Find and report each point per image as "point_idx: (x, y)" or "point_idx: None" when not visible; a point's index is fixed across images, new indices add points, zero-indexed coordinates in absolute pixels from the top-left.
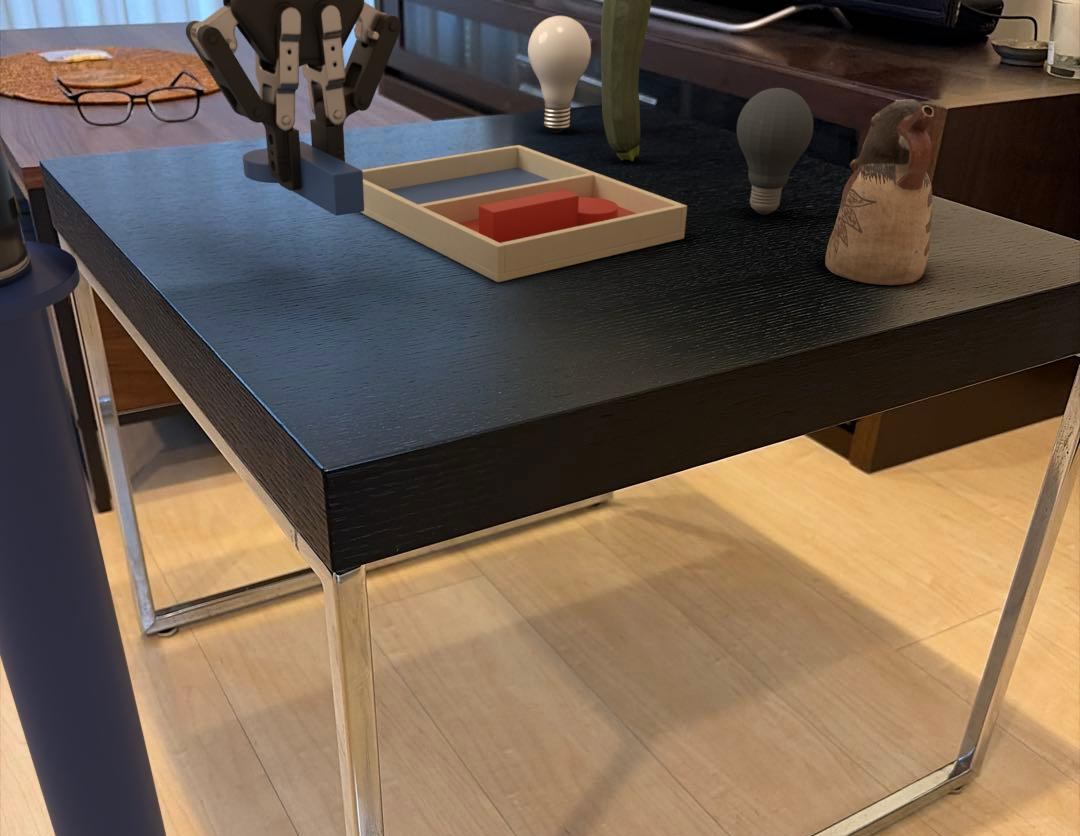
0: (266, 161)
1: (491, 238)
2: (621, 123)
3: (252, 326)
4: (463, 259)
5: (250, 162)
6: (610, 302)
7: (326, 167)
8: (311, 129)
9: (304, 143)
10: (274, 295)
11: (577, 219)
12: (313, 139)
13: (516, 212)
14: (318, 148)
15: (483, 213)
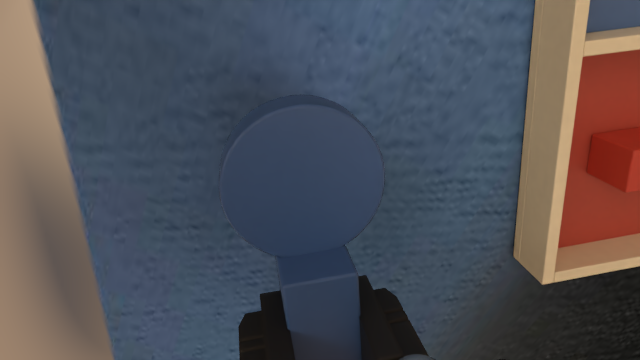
0: (264, 229)
1: (593, 170)
2: None
3: (168, 279)
4: (524, 186)
5: (227, 216)
6: (569, 343)
7: None
8: (370, 347)
9: (351, 297)
10: None
11: None
12: (364, 337)
13: None
14: (361, 344)
15: (623, 162)
